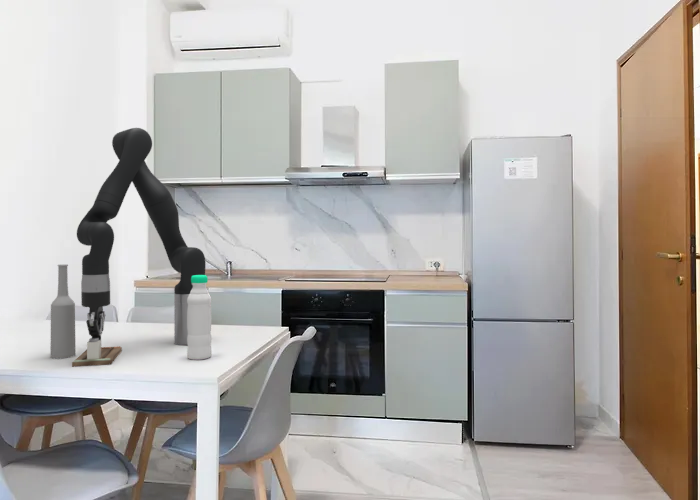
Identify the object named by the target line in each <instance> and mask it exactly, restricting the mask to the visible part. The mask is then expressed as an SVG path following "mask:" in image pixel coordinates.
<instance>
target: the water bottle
mask: <svg viewBox="0 0 700 500" xmlns="http://www.w3.org/2000/svg"><path fill="white" fill-rule="evenodd" d="M208 281H209V278H208V276H207V275H206V274H205V275H193V276H192V277H191V283H192V285H193V288H192V290H191V291H190V294H189V296H188V298H187V303H188V309H187V329H188V336H187V344H188V345H187V347H186V348H187V351H186V352H187V353H186V355H187V356H186V357H187V358H188V359H189V360H192V361H193V360H194V361H199V360H200V361H201V360H206V359H209V358H210V357H212V334H211V333H212V332H211V331H212V296H211V295H210V293H209V290H208V288H207V284H208Z"/></svg>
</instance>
